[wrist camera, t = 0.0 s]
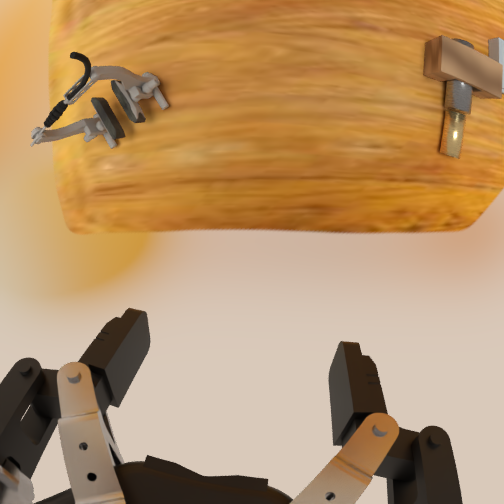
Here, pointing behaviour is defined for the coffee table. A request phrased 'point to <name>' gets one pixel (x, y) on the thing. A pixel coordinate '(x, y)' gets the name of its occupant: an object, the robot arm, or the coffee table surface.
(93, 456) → the robot arm
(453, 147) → the cylinder
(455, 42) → the beam
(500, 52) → the cradle
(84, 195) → the coffee table surface
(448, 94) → the axle
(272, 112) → the coffee table surface
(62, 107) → the bike brake
